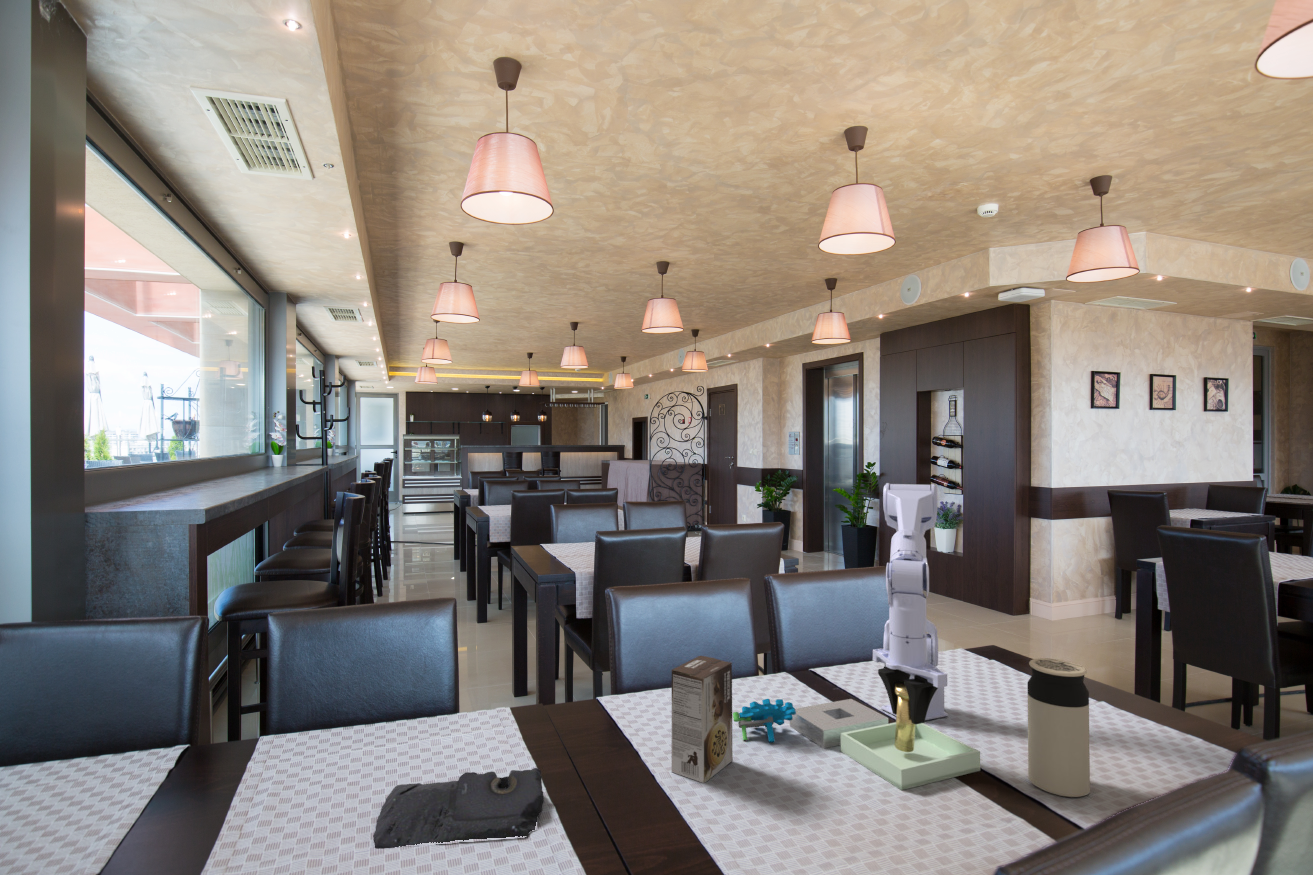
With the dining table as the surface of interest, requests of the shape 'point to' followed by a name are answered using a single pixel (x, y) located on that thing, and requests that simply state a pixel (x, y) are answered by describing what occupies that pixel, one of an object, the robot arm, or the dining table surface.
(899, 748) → the pin
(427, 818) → the dark slate chunk
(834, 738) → the pin bracket
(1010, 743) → the dining table surface
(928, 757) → the parts tray
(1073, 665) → the travel mug
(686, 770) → the coffee box
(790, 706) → the gear
